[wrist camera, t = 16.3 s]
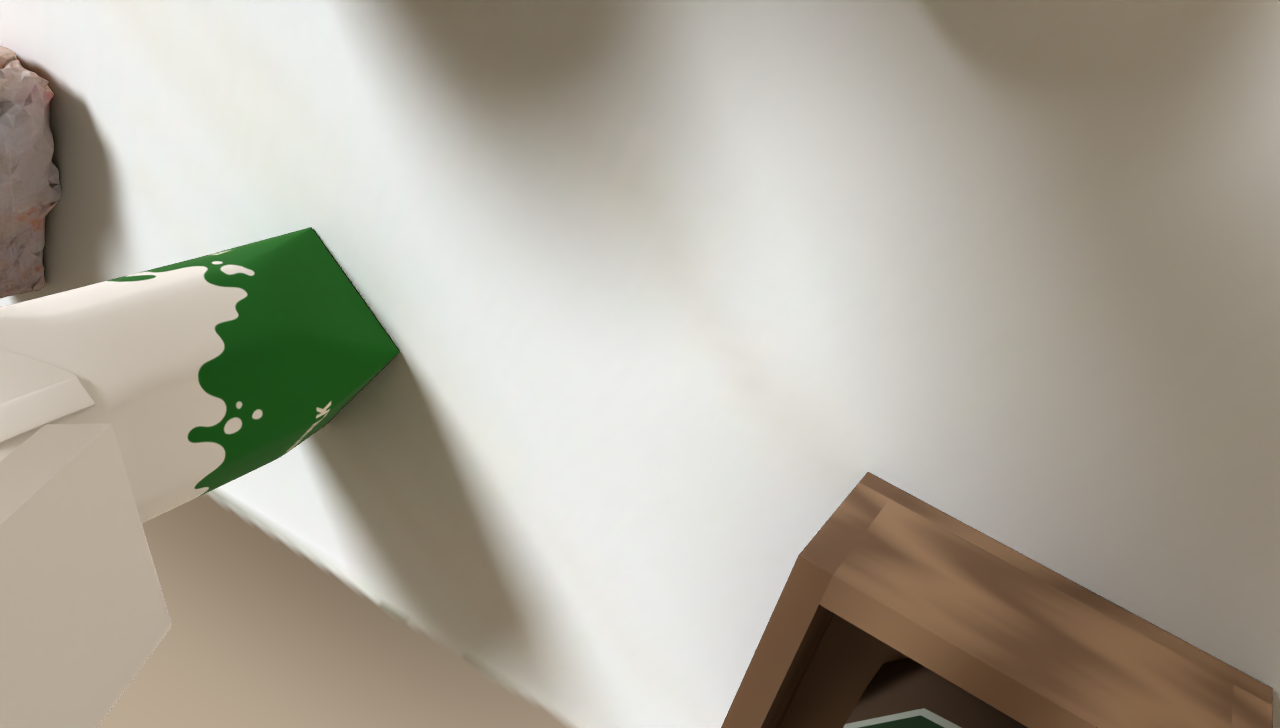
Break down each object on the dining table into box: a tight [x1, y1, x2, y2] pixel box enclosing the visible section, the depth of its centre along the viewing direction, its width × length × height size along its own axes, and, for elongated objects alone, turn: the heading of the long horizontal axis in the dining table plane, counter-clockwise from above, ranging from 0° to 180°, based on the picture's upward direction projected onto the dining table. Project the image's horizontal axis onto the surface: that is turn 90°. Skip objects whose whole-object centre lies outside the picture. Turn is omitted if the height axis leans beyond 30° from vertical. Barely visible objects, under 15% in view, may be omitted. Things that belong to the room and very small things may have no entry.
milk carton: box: [0, 227, 399, 523], centre depth 43 cm, size 9×9×20 cm
